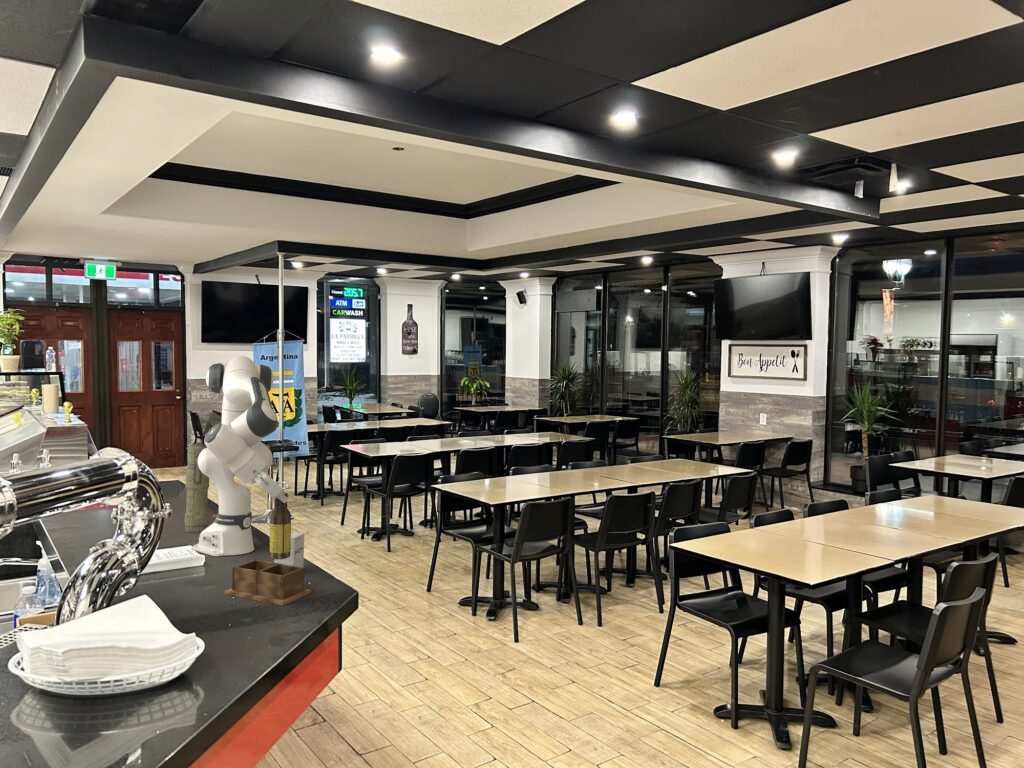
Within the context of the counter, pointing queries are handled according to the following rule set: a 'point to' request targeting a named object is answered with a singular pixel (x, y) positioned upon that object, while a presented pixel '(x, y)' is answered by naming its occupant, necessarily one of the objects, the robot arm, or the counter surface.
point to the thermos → (196, 492)
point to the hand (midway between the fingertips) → (284, 499)
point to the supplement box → (295, 551)
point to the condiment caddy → (268, 582)
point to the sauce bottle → (280, 530)
